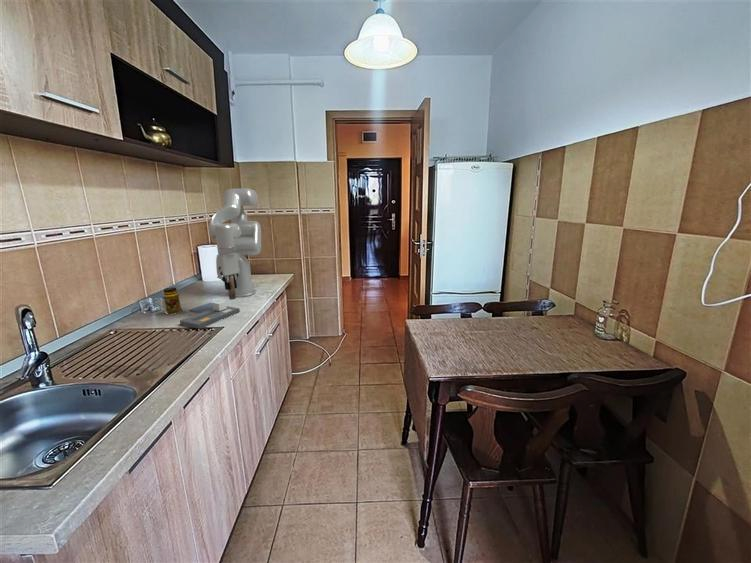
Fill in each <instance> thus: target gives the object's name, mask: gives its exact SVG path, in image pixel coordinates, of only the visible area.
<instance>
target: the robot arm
mask: <svg viewBox="0 0 751 563" xmlns="http://www.w3.org/2000/svg"><path fill="white" fill-rule="evenodd" d="M258 200H259V198H258V194H257V192H256V191H255V190H253V189H252V188H248V187H247V188H228V189H227V190H226V191H225V192H224V198H223V203H222V207H221V208H220V209H219V210H217V211H216V212H215V213H214V214H212V216H211V218H210V219H209V224H208V225H209V226H208V234H209V237H210V239H213V240H216V248H217V255H216V260H215V264H216V267H215V268H216V274H217V277H216V278H217V279H219V280H221V281H222V282H223V283H224V290H225V291H228V290H231V285H230V282H229V275H232V274H233V278H234V287H235V295H236V298H239V297H241V298H243V297H249V296H252V295H255V294H256V292H257V291H256V289H255V288H258V287H259V284H258V283H255V284H253V281H252V272H251V264H250V261H249V259H248V258H247V257H245V256H254V255H255V256H256V255H259V254H260V253H261V252H262V226H261V225H260V223H259V221H257V220H248V214H247V212H245V211H244V209H243V208H241V207H252V206H256V205H257V204H258ZM228 221H230V223H226V222H228Z"/></svg>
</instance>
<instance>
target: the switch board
mask: <svg viewBox="0 0 751 563" xmlns="http://www.w3.org/2000/svg"><path fill="white" fill-rule="evenodd" d="M226 307H227V309H224V310H221V311H217V310H214V309H210V310H207V311H205V312H202V313H197V314H194V315H191V316H188V317H186V318H183V319H180V320H179V323H180V324H179V325H180V326H184V327H188V326H189V327H188V328H192V329H193V328H194V329H199V330H201V329H203V328H205V327H208V326H210V325H213V324H215V323H218V322H220V321H222V320H221V319H223V320H225V319H227V318H230V317H232V316H235V315H237V314H239V312H240V313H241V309H240V308H238V307H235V306H228V305H226ZM234 314H235V315H234ZM231 315H232V316H231ZM229 316H230V317H229ZM226 317H227V318H226ZM224 318H225V319H224ZM219 320H220V321H219ZM217 321H218V322H217ZM212 323H213V324H212Z"/></svg>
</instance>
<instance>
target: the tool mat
mask: <svg viewBox="0 0 751 563" xmlns="http://www.w3.org/2000/svg"><path fill="white" fill-rule="evenodd" d="M213 303H214V302H208V303H204V304H202V305H199V306H196V307H193V308H190V309H189V310H188V311H189V312H193V313H197V314H199V313H202V312H205V311H207V310H210V309H213Z"/></svg>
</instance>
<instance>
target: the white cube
mask: <svg viewBox="0 0 751 563" xmlns="http://www.w3.org/2000/svg"><path fill="white" fill-rule="evenodd" d="M212 303H213V309H214V310H217V311H221V310H224V309H227V307H226V306H227V301H226V300H225V301H224V300H218V301H215V302H212Z"/></svg>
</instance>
